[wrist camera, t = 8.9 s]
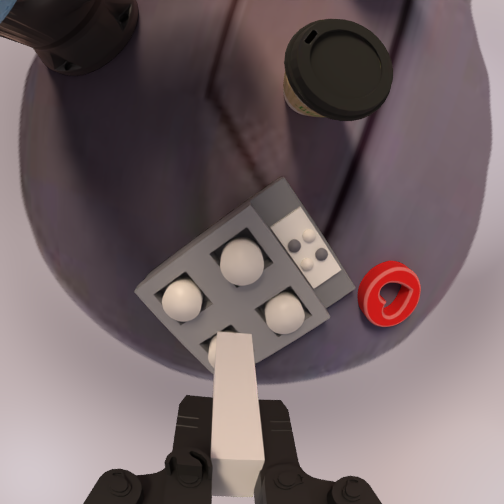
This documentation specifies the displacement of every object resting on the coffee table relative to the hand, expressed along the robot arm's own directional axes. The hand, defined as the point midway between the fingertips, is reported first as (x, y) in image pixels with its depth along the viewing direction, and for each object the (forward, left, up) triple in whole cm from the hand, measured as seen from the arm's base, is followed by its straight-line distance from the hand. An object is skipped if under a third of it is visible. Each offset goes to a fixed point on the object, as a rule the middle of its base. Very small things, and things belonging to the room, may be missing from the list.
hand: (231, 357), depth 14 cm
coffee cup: (-8, +17, -28) cm, 34 cm away
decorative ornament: (+22, +12, -28) cm, 38 cm away
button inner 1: (+3, -10, -25) cm, 27 cm away
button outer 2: (+12, -1, -25) cm, 28 cm away
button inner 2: (+3, -1, -24) cm, 24 cm away
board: (+8, -3, -28) cm, 29 cm away
